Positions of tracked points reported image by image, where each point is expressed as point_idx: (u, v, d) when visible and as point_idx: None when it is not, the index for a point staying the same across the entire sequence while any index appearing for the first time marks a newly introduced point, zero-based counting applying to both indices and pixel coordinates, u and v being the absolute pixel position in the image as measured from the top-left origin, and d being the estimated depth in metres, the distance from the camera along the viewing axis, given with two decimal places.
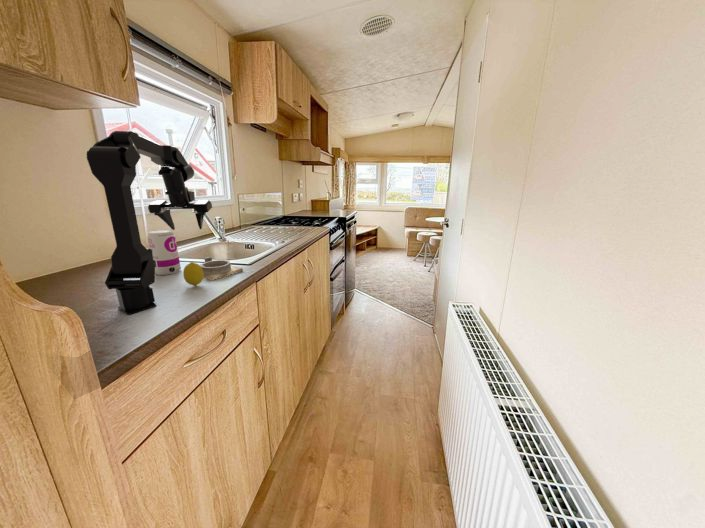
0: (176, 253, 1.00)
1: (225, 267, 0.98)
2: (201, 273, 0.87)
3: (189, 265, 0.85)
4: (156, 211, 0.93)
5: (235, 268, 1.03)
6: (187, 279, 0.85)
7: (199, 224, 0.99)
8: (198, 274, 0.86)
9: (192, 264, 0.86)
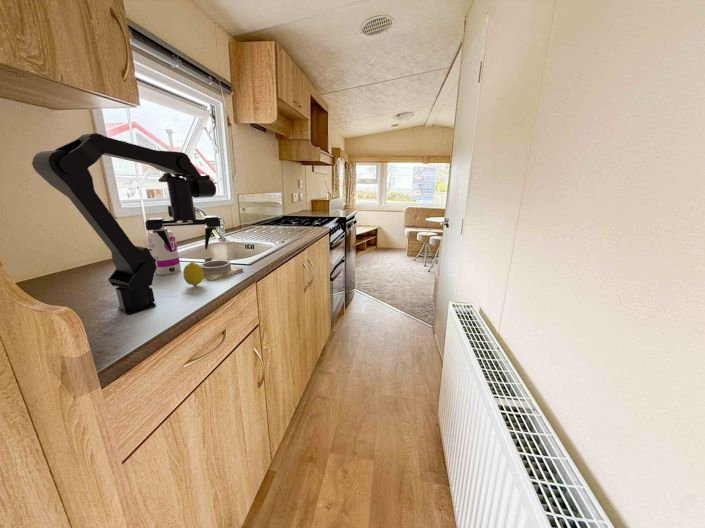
0: (176, 253, 1.00)
1: (225, 267, 0.98)
2: (201, 273, 0.87)
3: (189, 265, 0.85)
4: (156, 227, 0.77)
5: (235, 268, 1.03)
6: (187, 279, 0.85)
7: (206, 242, 0.86)
8: (198, 274, 0.86)
9: (192, 264, 0.86)
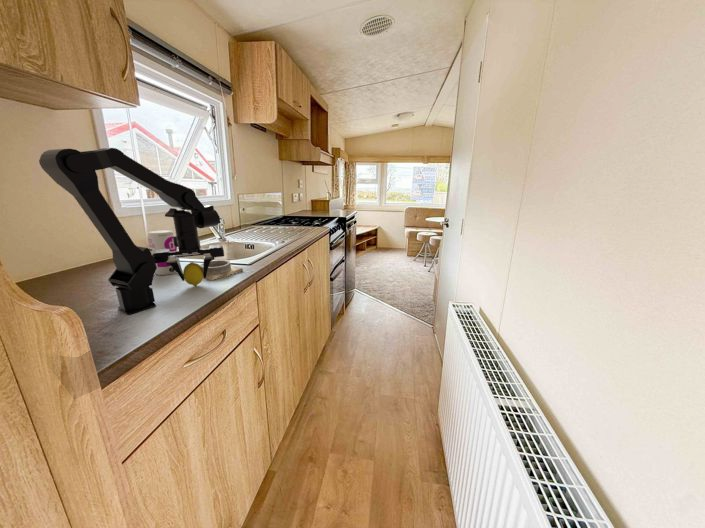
0: None
1: (225, 267, 0.98)
2: (201, 273, 0.87)
3: (189, 265, 0.85)
4: (163, 260, 0.80)
5: (235, 268, 1.03)
6: (187, 279, 0.85)
7: (205, 272, 0.87)
8: (198, 274, 0.86)
9: (192, 264, 0.86)
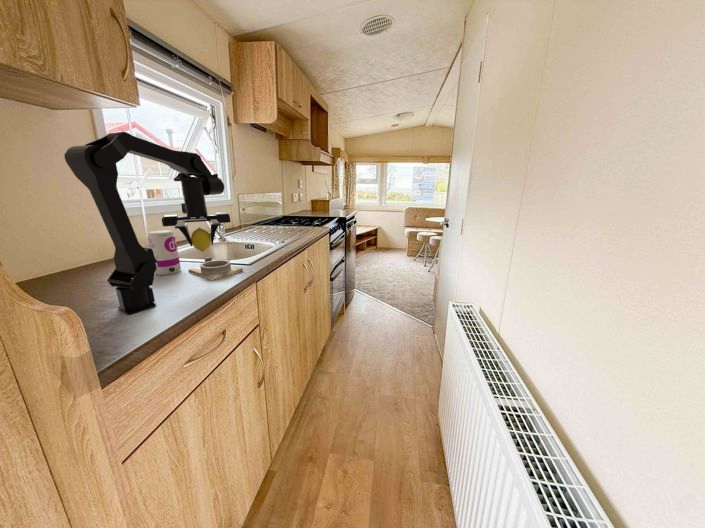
0: (176, 253, 1.00)
1: (225, 267, 0.98)
2: (208, 238, 0.90)
3: (197, 230, 0.88)
4: (172, 224, 0.83)
5: (235, 268, 1.03)
6: (195, 244, 0.88)
7: (212, 238, 0.90)
8: (206, 239, 0.89)
9: (200, 229, 0.89)
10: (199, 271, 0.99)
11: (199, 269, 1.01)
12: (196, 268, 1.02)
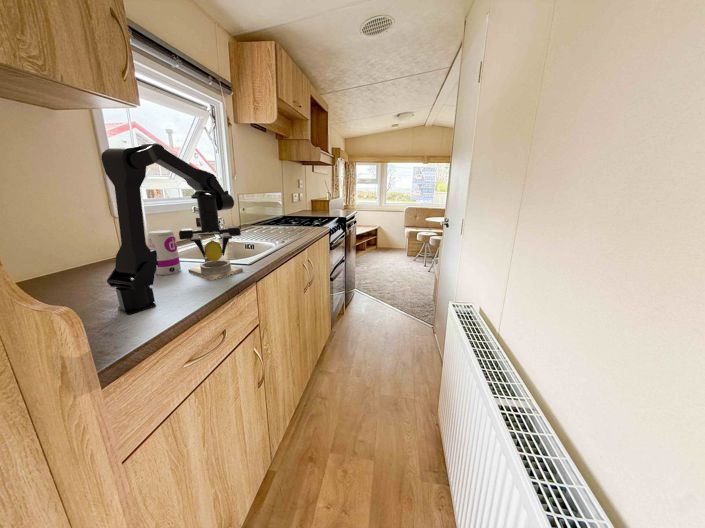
0: (176, 253, 1.00)
1: (225, 267, 0.98)
2: (220, 250, 0.98)
3: (210, 243, 0.96)
4: (188, 237, 0.91)
5: (235, 268, 1.03)
6: (208, 255, 0.96)
7: (223, 250, 0.98)
8: (218, 250, 0.97)
9: (212, 242, 0.96)
10: (199, 271, 0.99)
11: (199, 269, 1.01)
12: (196, 268, 1.02)
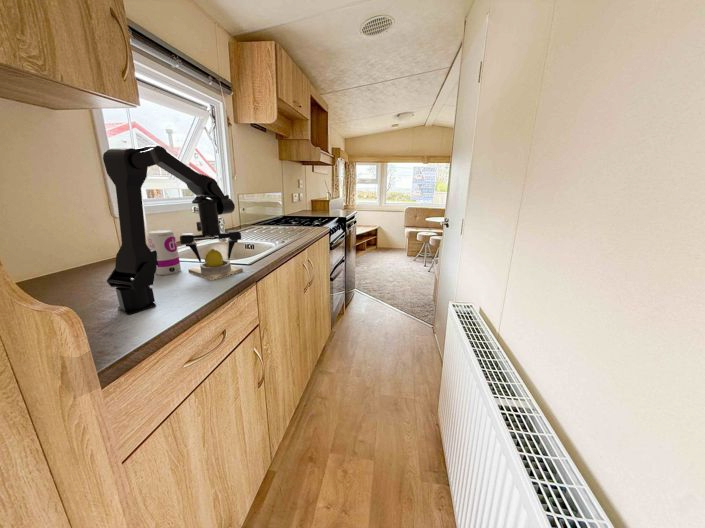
0: (176, 253, 1.00)
1: (225, 267, 0.98)
2: (221, 258, 0.98)
3: (210, 251, 0.97)
4: (189, 241, 0.91)
5: (235, 268, 1.03)
6: (209, 264, 0.96)
7: (229, 253, 0.99)
8: (219, 259, 0.97)
9: (213, 250, 0.97)
10: (199, 271, 0.99)
11: (199, 269, 1.01)
12: (196, 268, 1.02)
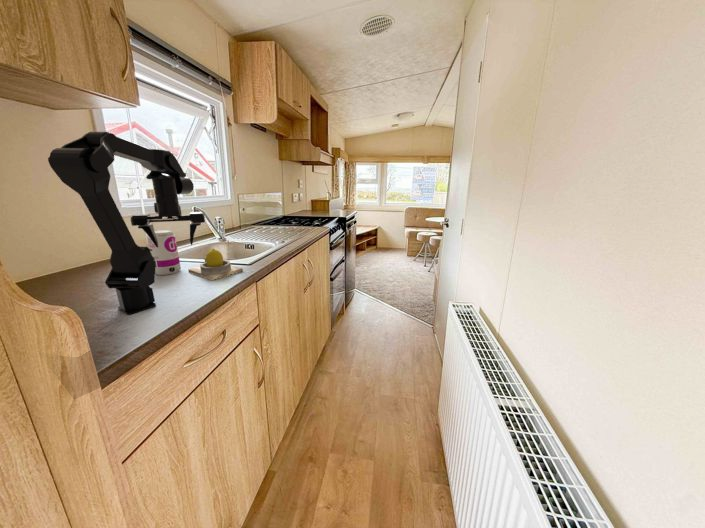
0: (176, 253, 1.00)
1: (225, 267, 0.98)
2: (221, 258, 0.99)
3: (211, 251, 0.97)
4: (141, 223, 0.80)
5: (235, 268, 1.03)
6: (209, 263, 0.97)
7: (191, 238, 0.88)
8: (219, 259, 0.98)
9: (213, 250, 0.97)
10: (199, 271, 0.99)
11: (199, 269, 1.01)
12: (196, 268, 1.02)
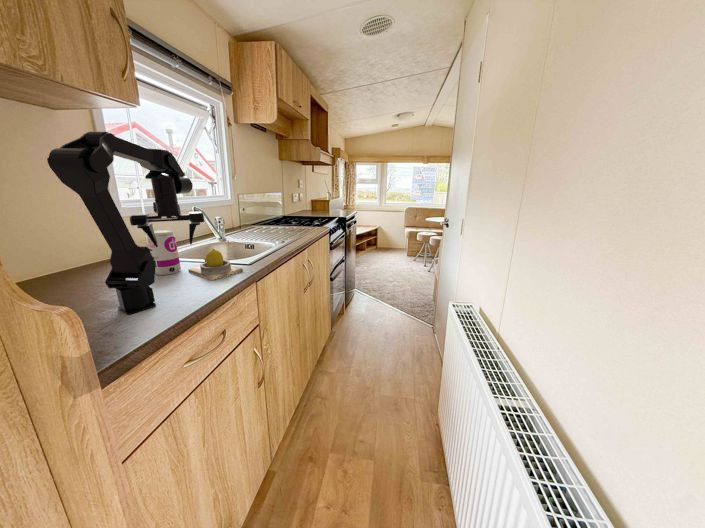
0: (176, 253, 1.00)
1: (225, 267, 0.98)
2: (221, 259, 0.98)
3: (211, 251, 0.97)
4: (141, 223, 0.80)
5: (235, 268, 1.03)
6: (209, 263, 0.97)
7: (191, 238, 0.88)
8: (219, 259, 0.97)
9: (214, 250, 0.97)
10: (199, 271, 0.99)
11: (199, 269, 1.01)
12: (196, 268, 1.02)
